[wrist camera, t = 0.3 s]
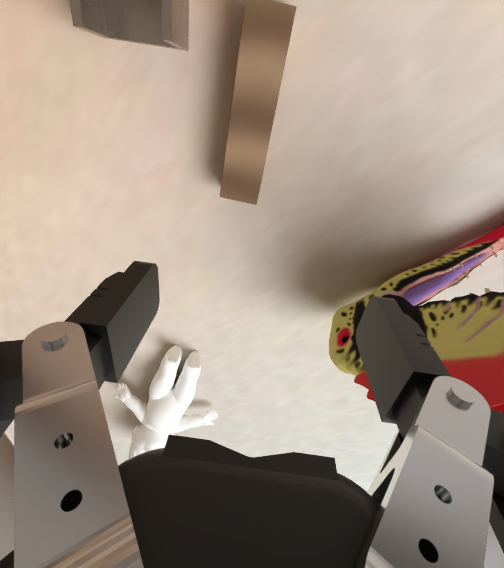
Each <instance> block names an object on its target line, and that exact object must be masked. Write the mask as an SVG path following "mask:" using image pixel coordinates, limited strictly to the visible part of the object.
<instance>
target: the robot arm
mask: <svg viewBox="0 0 504 568" xmlns="http://www.w3.org/2000/svg"><path fill="white" fill-rule="evenodd" d="M158 307H159V280H158V267H157V265H156V264H154V263H147V262H140V261H134V262H133V263H132V264H131V265H130V266H129V267H128V268H127V270H126V271H125V272H124V273H123V272H117V273H115V274H113V275H111V276H109V277H108V278H106V279H105V280H104V281H103V282H102V283H101V284H100V285H99V286H98V287H97V289H95V290H94V291H93V292H92V293H91V295H90V296H88V297H87V298H86V299H85V301H84V302H83V303H82V304H81V305H80V306H79V307H78V308H77V309H76V310H75V311H74V312H73V313H72V314H71V315H70V316H69V317H68V318H67V319H66V320H65V321H64V322H55V323H50V324H47V325H44V326H42V327H40V328H38V329H36V330H34V331H33V332H31V333H30V334H29V335H28V336H27V337H26V338H25V340H16V341H5V342H0V437H1V436H2V434H3V433H4V432H5V430H6V429H7V428H8V426H9V425H10V424H11V422H12V421H13V420H14V452H15V454H14V550H13V551H12V552H11V553H9V554H8V555H7V556H5V557H4V558H3V559H2V560H1V561H0V568H484V559H485V551H486V543H487V535H488V526H489V522H490V524H491V526H492V528H493V531H494V533H495V535H496V537H497V539H498V541H499V544H500V546H501V548H502V550H503V553H504V413H502V412H499V411H496V410H494V409H491V408H490V407H489V405H488V403H487V401H486V400H485V399H484V397H483V396H482V395H481V394H480V393H479V392H478V391H477V390H475V389H474V388H473V387H471V386H470V385H468V384H467V383H465V382H463V381H461V380H459V379H456V378H453V377H451V375H450V374H449V372H448V371H447V369H446V367H445V366H444V364H443V363H442V361H441V359H440V358H439V356H438V355H437V353H436V351H435V350H434V348H433V347H432V346H431V343H430V342H429V340H428V339H427V337H425V334H424V332H423V331H422V329H421V328H420V326H419V324H417V323H416V322H415V321H414V320H413V319H412V318H411V317H410V316H408V315H407V314H404V313H403V312H402V310H401V308H400V307H399V305H398V303H397V302H396V300H395V299H391V298H384V297H377V296H372V297H371V298H370V299H369V301H368V304H367V306H366V308H365V311H364V313H363V315H362V318H361V320H360V323H359V325H358V327H357V331H356V343H357V347H358V350H359V353H360V356H361V359H362V362H363V365H364V368H365V371H366V374H367V377H368V381H369V384H370V387H371V390H372V393H373V396H374V399H375V402H376V405H377V408H378V411H379V414H380V417H381V420H382V422H387V423H394V424H397V426H398V429H399V431H398V432H397V433H396V435H395V437H394V439H393V441H392V443H391V445H390V447H389V449H388V451H387V453H386V456H385V458H384V460H383V462H382V464H381V466H380V468H379V470H378V472H377V475H376V477H375V479H374V481H373V483H372V484H371V486H370V488H369V489H368V491H367V492H366V491H365V490H364V489H362V488H361V487H360V486H359V485H357V484H356V483H354V482H353V481H352V480H350V479H348V478H346V477H345V476H343V475H341V474H339V473H337V470H336V464H335V458H331V457H324V456H317V455H310V454H303V453H296V452H292V453H285V454H277V455H270V456H263V457H254V458H252V457H248V456H245V455H243V454H240V453H238V452H236V451H233V450H231V449H229V448H226V447H224V446H222V445H219V444H217V443H215V442H213V441H210V440H204V439H197V438H190V437H183V436H176V435H169V436H168V439H167V442H166V445H165V448H159V449H155V450H151V451H147V452H144V453H142V454H139V455H137V456H135V457H133V458H131V459H129V460H127V461H125V462H123V463H122V464H120V465H119V466H118V464H117V460H116V456H115V452H114V448H113V444H112V441H111V437H110V433H109V429H108V425H107V421H106V417H105V413H104V409H103V405H102V401H101V397H100V393H99V389H100V387H101V386H102V384H103V382H104V381H108V382H115V383H118V381H119V379H120V377H121V376H122V374H123V372H124V370H125V368H126V367H127V365H128V363H129V361H130V360H131V358H132V356H133V354H134V352H135V351H136V349H137V347H138V345H139V344H140V342H141V340H142V338H143V337H144V335H145V333H146V331H147V329H148V328H149V326H150V324H151V322H152V321H153V319H154V317H155V315H156V313H157V311H158Z"/></svg>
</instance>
